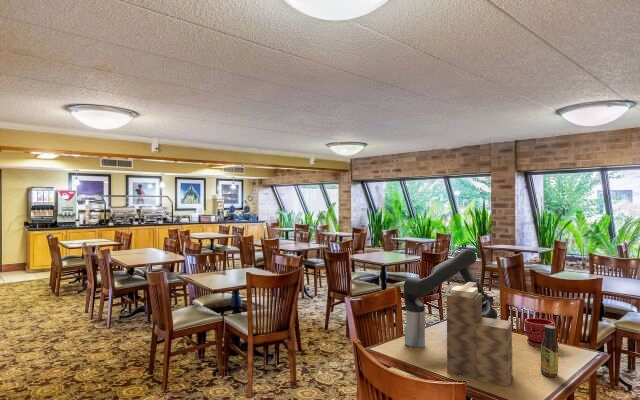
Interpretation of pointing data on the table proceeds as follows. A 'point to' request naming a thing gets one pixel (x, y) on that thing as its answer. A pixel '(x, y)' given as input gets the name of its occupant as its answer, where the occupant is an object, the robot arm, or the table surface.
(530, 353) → the table surface
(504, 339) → the block
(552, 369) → the sauce bottle
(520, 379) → the table surface
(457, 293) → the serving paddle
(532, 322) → the plant pot
